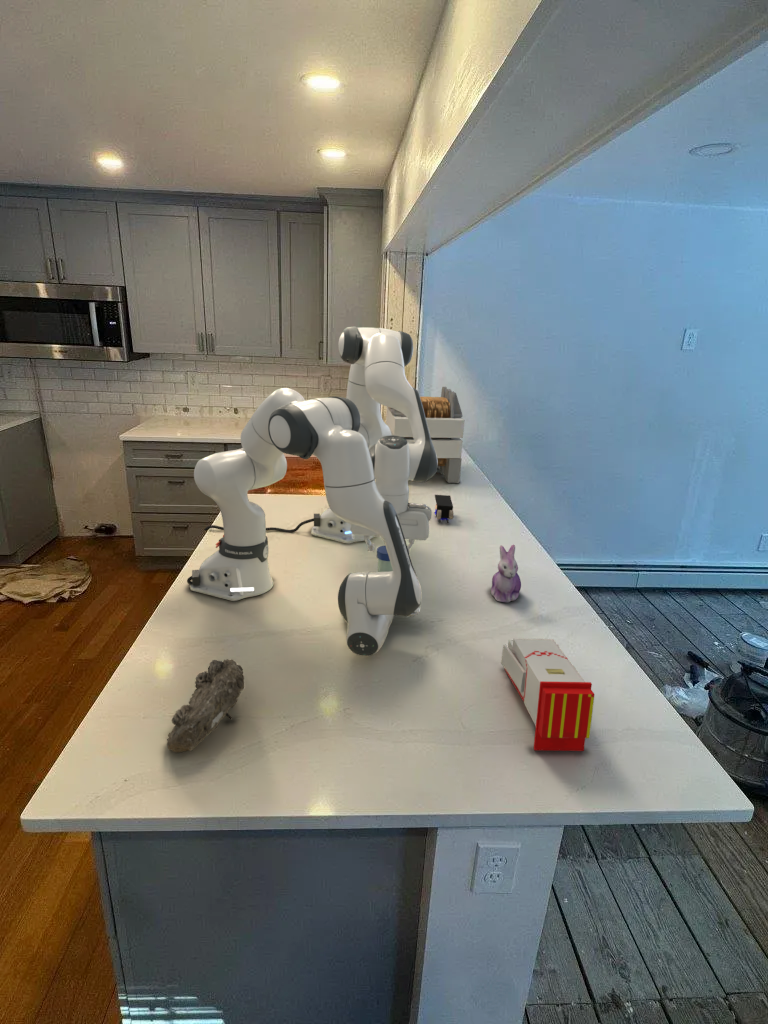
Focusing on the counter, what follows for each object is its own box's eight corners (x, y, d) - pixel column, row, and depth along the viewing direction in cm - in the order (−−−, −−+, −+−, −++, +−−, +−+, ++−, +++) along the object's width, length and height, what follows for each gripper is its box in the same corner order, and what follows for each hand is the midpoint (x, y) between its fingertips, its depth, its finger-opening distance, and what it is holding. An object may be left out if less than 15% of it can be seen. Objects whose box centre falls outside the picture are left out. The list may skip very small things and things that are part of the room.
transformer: (382, 463, 289) (386, 382, 275) (445, 464, 293) (451, 384, 279) (390, 482, 257) (394, 392, 243) (460, 483, 261) (468, 394, 247)
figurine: (503, 606, 153) (510, 556, 148) (480, 590, 162) (486, 542, 156) (530, 600, 157) (537, 550, 152) (507, 584, 166) (513, 537, 161)
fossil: (192, 660, 117) (244, 628, 112) (224, 691, 120) (276, 661, 115) (142, 746, 98) (202, 712, 93) (182, 779, 101) (242, 748, 96)
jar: (375, 599, 154) (377, 547, 149) (393, 599, 155) (396, 547, 150) (377, 608, 150) (379, 555, 145) (395, 608, 150) (398, 555, 145)
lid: (375, 551, 150) (376, 545, 149) (397, 552, 151) (398, 545, 150) (377, 561, 145) (377, 554, 144) (400, 561, 145) (400, 554, 145)
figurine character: (453, 528, 210) (448, 510, 224) (455, 510, 207) (450, 493, 220) (435, 528, 210) (432, 510, 223) (437, 509, 207) (433, 492, 220)
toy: (549, 621, 128) (604, 690, 99) (544, 676, 131) (595, 758, 101) (496, 620, 128) (535, 688, 98) (492, 675, 130) (528, 757, 101)
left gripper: (419, 604, 136) (426, 579, 149) (336, 593, 139) (350, 570, 152) (417, 627, 138) (424, 600, 151) (336, 616, 141) (349, 591, 154)
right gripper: (432, 500, 144) (429, 550, 149) (353, 494, 147) (352, 544, 151) (431, 508, 138) (428, 560, 143) (349, 502, 141) (348, 553, 145)
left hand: (386, 585), depth 151 cm, fingers closed on jar, 5 cm apart
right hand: (388, 552), depth 147 cm, fingers open, 8 cm apart
